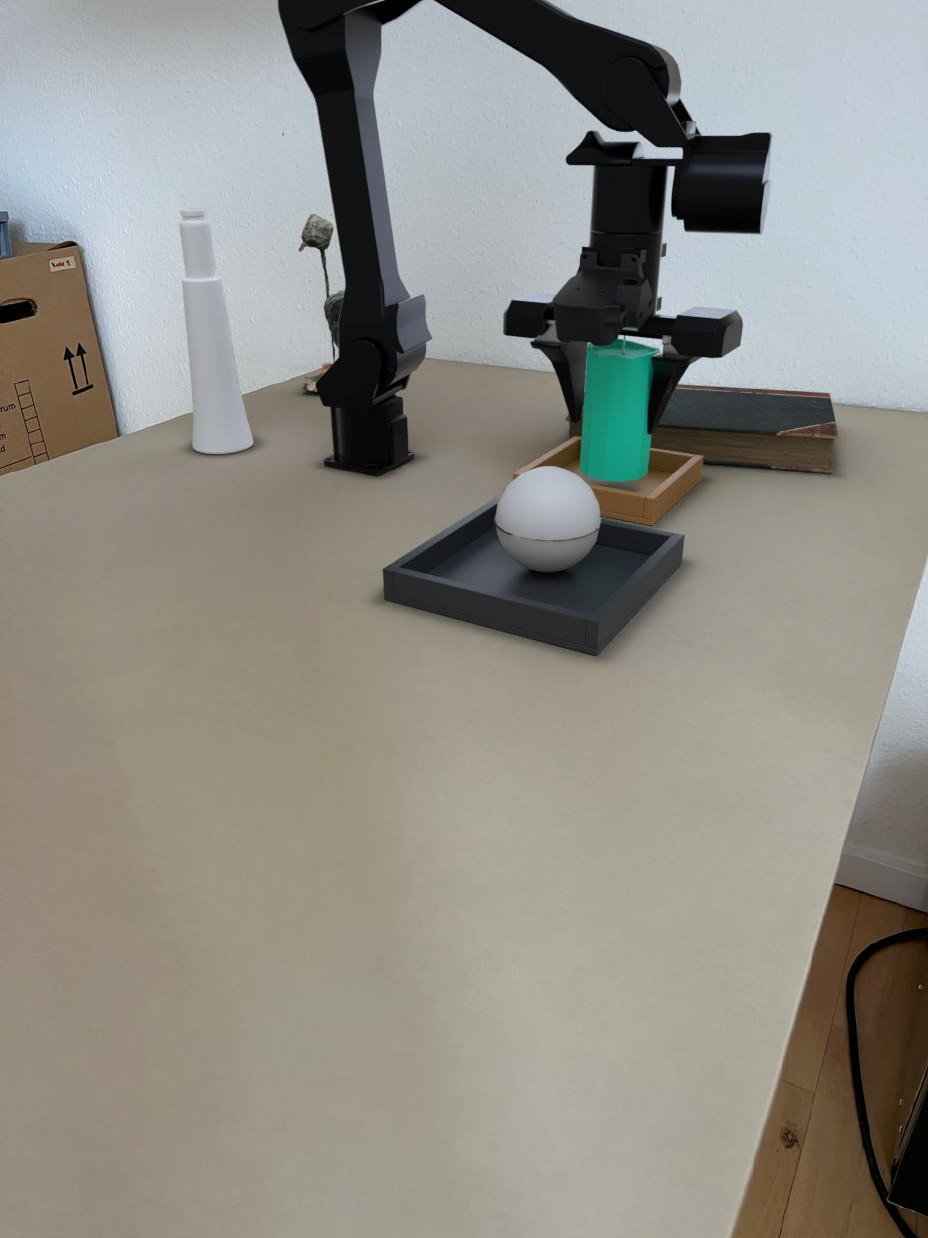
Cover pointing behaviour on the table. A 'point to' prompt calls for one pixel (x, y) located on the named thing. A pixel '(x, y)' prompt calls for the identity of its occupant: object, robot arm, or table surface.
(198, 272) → the cosmetic bottle
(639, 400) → the candle
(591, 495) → the white sphere
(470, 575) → the dark tray
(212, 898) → the table surface
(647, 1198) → the table surface
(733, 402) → the book
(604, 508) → the wood tray
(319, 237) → the plant with pod
